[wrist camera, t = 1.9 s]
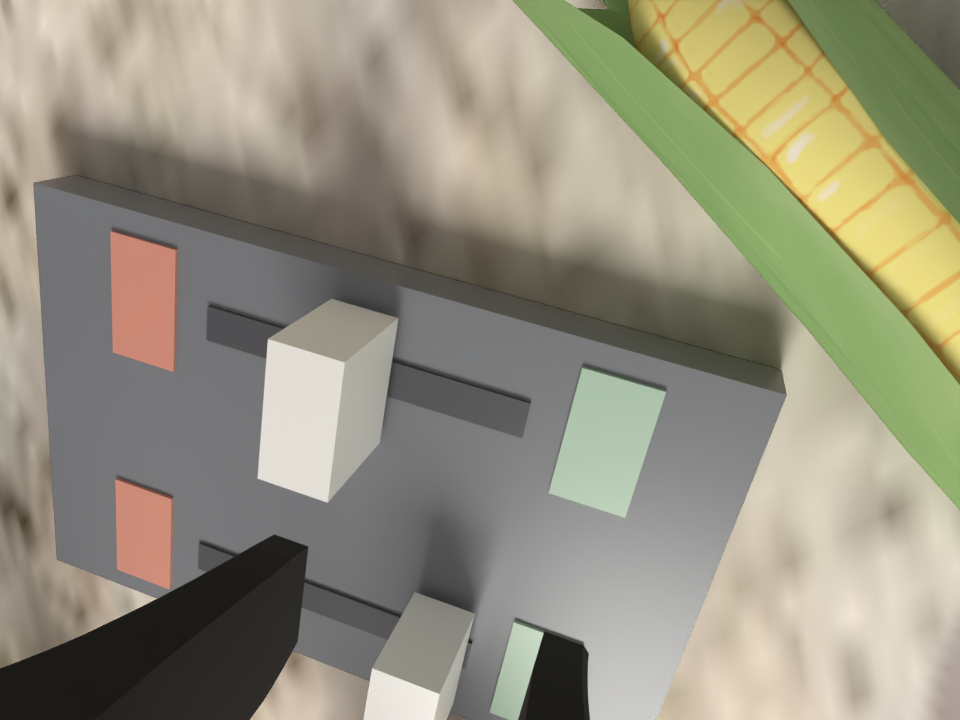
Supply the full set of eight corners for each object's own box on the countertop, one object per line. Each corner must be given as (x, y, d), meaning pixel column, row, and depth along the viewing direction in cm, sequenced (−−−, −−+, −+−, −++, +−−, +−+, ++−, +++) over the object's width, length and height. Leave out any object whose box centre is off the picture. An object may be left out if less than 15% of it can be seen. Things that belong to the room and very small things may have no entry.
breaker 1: (317, 422, 20) (257, 478, 18) (331, 298, 19) (267, 338, 16) (379, 443, 20) (327, 502, 17) (398, 318, 19) (344, 362, 16)
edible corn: (1030, 570, 18) (1120, 715, 14) (460, -51, 17) (380, -85, 13) (1270, 455, 16) (1456, 588, 12) (634, -273, 15) (603, -400, 11)
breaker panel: (89, 534, 27) (54, 561, 26) (75, 175, 22) (30, 183, 20) (635, 740, 24) (630, 785, 22) (781, 370, 18) (787, 396, 17)
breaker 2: (397, 682, 23) (355, 765, 20) (414, 592, 22) (372, 667, 19) (452, 704, 23) (417, 791, 20) (474, 613, 21) (439, 693, 19)
